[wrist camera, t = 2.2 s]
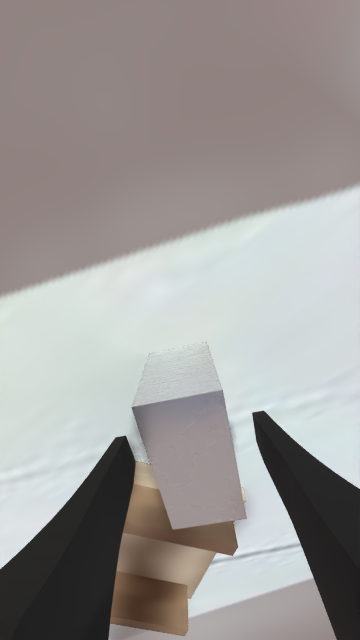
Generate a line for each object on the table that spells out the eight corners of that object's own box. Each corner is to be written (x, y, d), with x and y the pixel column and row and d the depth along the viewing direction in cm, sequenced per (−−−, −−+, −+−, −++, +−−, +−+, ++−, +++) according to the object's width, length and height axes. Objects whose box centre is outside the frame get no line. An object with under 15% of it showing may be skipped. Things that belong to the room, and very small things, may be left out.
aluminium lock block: (206, 341, 14) (222, 390, 9) (225, 434, 16) (246, 518, 11) (149, 352, 14) (131, 407, 9) (175, 443, 17) (172, 529, 11)
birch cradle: (242, 487, 18) (257, 540, 14) (190, 583, 21) (191, 644, 18) (126, 459, 17) (113, 508, 13) (93, 564, 21) (76, 624, 17)
